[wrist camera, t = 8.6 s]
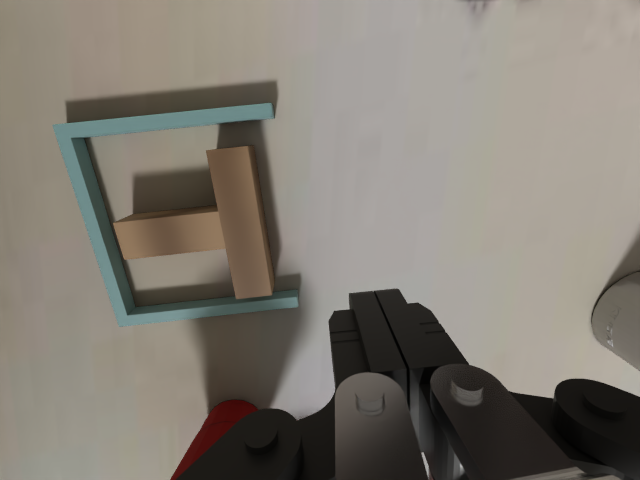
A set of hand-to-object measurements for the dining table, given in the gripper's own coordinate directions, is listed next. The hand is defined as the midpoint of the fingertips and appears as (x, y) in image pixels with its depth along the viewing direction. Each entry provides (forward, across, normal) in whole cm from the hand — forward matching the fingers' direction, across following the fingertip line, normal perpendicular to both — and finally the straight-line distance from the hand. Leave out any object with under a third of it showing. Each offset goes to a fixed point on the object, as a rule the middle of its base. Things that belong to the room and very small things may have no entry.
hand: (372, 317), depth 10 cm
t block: (+18, +11, +1) cm, 22 cm away
